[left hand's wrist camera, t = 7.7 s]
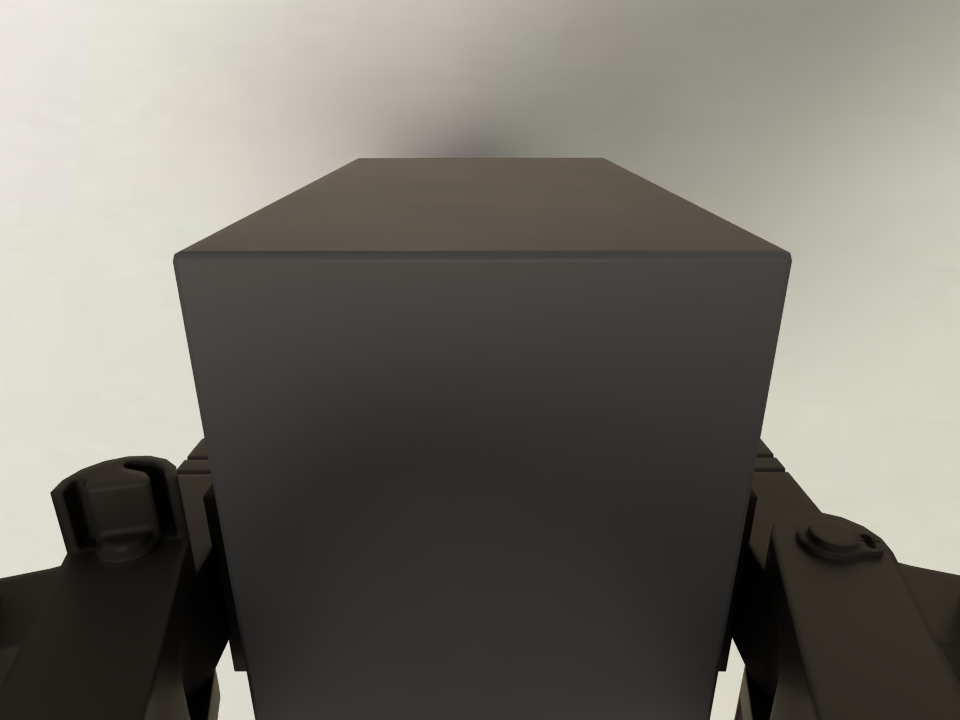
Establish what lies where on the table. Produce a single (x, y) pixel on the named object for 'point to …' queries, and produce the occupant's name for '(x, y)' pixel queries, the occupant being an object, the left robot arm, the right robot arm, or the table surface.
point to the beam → (482, 437)
